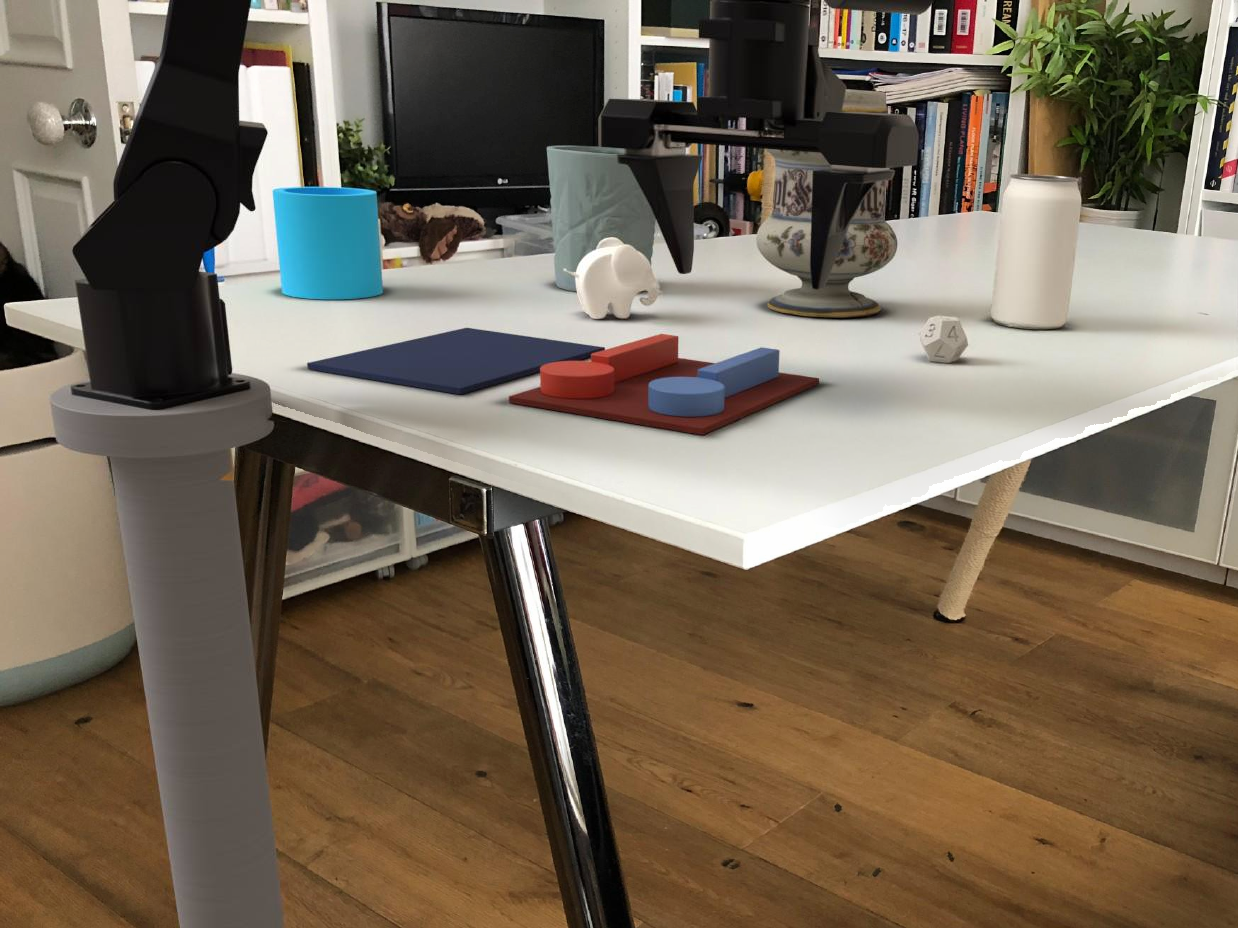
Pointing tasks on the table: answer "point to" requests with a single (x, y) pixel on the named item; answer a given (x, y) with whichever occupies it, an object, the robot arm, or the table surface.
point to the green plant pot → (594, 206)
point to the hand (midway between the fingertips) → (750, 281)
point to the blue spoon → (712, 384)
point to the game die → (943, 339)
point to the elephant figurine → (614, 279)
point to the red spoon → (607, 368)
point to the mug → (328, 242)
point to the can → (1036, 251)
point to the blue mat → (455, 360)
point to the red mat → (633, 408)
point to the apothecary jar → (790, 231)
